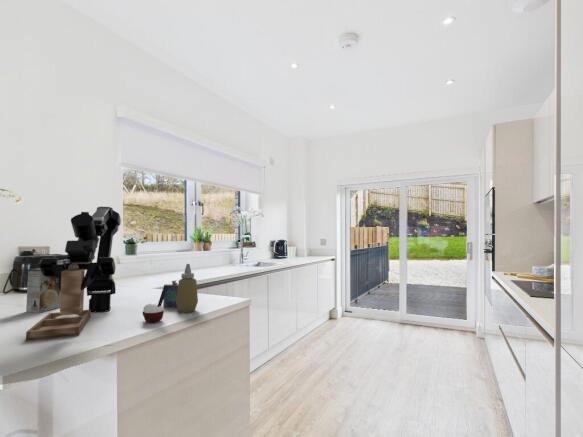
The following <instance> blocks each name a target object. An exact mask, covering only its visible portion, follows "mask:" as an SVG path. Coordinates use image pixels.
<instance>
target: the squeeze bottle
mask: <svg viewBox="0 0 583 437" xmlns="http://www.w3.org/2000/svg"><path fill="white" fill-rule="evenodd" d="M185 264H186V265H185V268H184V272H183V273H181V275H180V276H181V278H180V279H179V280H178V284H177V285H178V291H177V299H176V304H177V307H178V308H177V310H178V312H179V313H183V314H184V313H192V312H195V311H196V308H197V305H198V303H199V298H198V296H199V294H198V285H197V279H196V278H195V273H194V272H192V270H191V265H190V263H185Z"/></svg>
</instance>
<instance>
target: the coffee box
mask: <svg viewBox="0 0 583 437" xmlns="http://www.w3.org/2000/svg"><path fill="white" fill-rule="evenodd" d="M26 288H27V289H26V307H25V308H26V309H25V311H26V313H43V312H46V311H47V312H48V311H51V310H52V311H53V310H54V309H55V310H56V309H60V297H61V291H60V290H59V279H58V278H56V276H55V277H46V276H44V275H43V273H42V271H41V269H40V267H39V268H31V269H30V268H28V270H27V285H26Z"/></svg>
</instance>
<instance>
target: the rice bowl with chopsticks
mask: <svg viewBox="0 0 583 437" xmlns="http://www.w3.org/2000/svg"><path fill="white" fill-rule="evenodd" d="M167 287H168V286H164V285H163V287H162V290H161V294H160V298H159V300H158V302H154V301H153V302H149V303H148V304H145V305H144V306H143V310H142V316H143V318H144V321H145V322H146V323H147V324H156V323H159V322H160V321H162V319H163V317H164V314H165V307H164V306H163V300H164V296H165V293H166V290H167Z"/></svg>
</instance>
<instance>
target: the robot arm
mask: <svg viewBox="0 0 583 437" xmlns="http://www.w3.org/2000/svg"><path fill="white" fill-rule="evenodd" d="M70 218H71V219H70V223H71V228H72V230H73V234H74V237H75V238H77V240H67V241H66V244H65V248H64V252H65V253H66V254H67V255H66V259H67V260H69V261H65V260H59V257H44V258H41V259H40V261H39V262H38V267H39V268H40V269H41V271H42V273H43V275H44V276H46V277H55V276H56V278H58V279H59V290H60V291H61V271H64V270H68V267H69V265H70V264H77V265H78V266H79V269H85V271H86V272H85V274H84V279H83V282H82V285H81V290H84V291H85V289H86V296H87V297H89V296H90V298H89V299H88V310H91V314H92V313H101V312H110V311H111V308H112V306H111V299H112V298H111V296H112V295H115V294H116V290H117V289H116V282H115V281H114V278H113V276H114V275H115V274H116V273H115V272H116V263H115V259H114V258H113V257H112V256H111V254H112V247H113V240H114V239H113V238H114V236H115V234H116V233H118V231H119V226H121V223H122V222H121V221H122V220H121V219H122V218H121V216H120V213H119V212H117V211H115V210H114V209H113V207H111V206H98V207H97V208H96V210H95V212H94V213H93V214H92V215H91V214H90V213H89V211H81V213H79V214H76V215H74V216H73V217H70ZM97 248H98V250H97ZM96 251H97V257H96V256H95V254H96ZM95 258H96V262H93V261H94V260H95Z"/></svg>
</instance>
